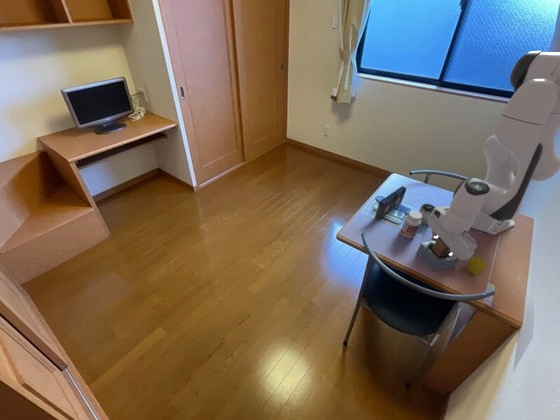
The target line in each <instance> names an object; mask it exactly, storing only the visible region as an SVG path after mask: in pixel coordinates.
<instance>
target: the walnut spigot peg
mask: <svg viewBox="0 0 560 420" xmlns="http://www.w3.org/2000/svg"><path fill="white" fill-rule="evenodd" d="M450 250H451V249H450V248H449V247H448V246H447V245H446V244H445V243H444V242H443V241H442V239H441V238H440V237H439V236H438V238H437V240H436V242H435V244H434V246H433V247H432V249H431V251H432V252H433V253H434V254H435V256H436V257H437V258H438V259H441V258H446V256H447V255H448V253H449V251H450Z"/></svg>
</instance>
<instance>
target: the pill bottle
mask: <svg viewBox="0 0 560 420" xmlns="http://www.w3.org/2000/svg"><path fill="white" fill-rule="evenodd" d="M421 218H422V214H421V213H420V212H419V211H418V210H415V209H414V210H413V209H412V210H410V211H409V212H408V214H407V216H406V217H405V218H404V221H403V223H402V226H401V229H400V234H401V235H402V236H403V237H405V238H407V239H412V238H415V237H416V235H417V234H418V230H419V228H420V226H421V225H422V223H421Z"/></svg>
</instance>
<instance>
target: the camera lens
mask: <svg viewBox="0 0 560 420" xmlns="http://www.w3.org/2000/svg"><path fill="white" fill-rule="evenodd" d="M434 208H436V207H435V206H434V205H432V204H431V203H424V204H422V205H420V208H419V212H420V213H421V214H422V218H421V225H428V224H427V219H428V217H429V215H430V214H431V213H432V212H433V209H434Z"/></svg>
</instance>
